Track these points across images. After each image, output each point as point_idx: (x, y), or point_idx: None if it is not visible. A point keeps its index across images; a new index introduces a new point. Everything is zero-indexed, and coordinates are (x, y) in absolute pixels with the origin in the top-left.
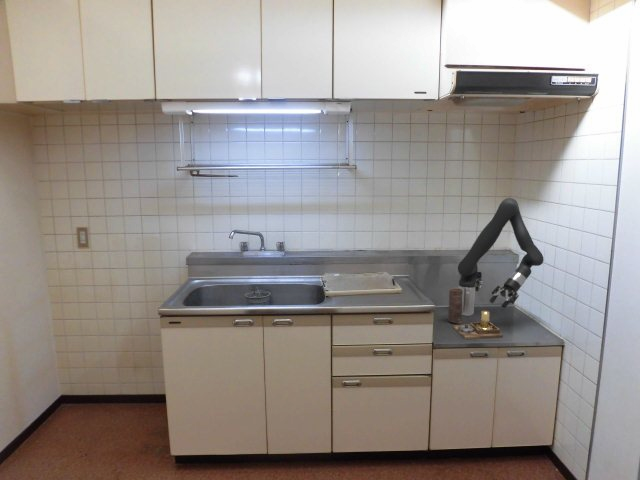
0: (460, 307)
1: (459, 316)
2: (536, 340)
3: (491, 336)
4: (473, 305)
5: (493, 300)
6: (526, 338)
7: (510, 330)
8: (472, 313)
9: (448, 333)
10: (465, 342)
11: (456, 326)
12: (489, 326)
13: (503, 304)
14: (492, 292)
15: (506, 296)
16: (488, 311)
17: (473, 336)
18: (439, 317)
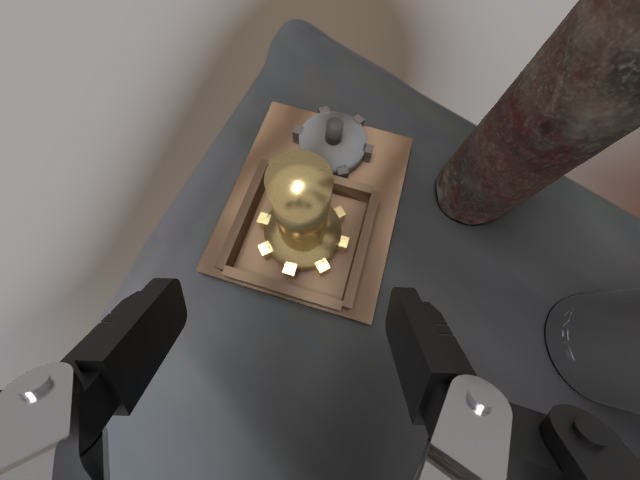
0: (497, 129)
1: (456, 166)
2: None
3: (223, 212)
4: (636, 385)
5: (398, 345)
6: None
7: (249, 405)
8: (563, 365)
9: (354, 91)
10: (249, 92)
11: (393, 142)
12: (294, 260)
13: (136, 298)
14: (600, 440)
15: (16, 463)
16: (296, 210)
17: (260, 133)
18: None
